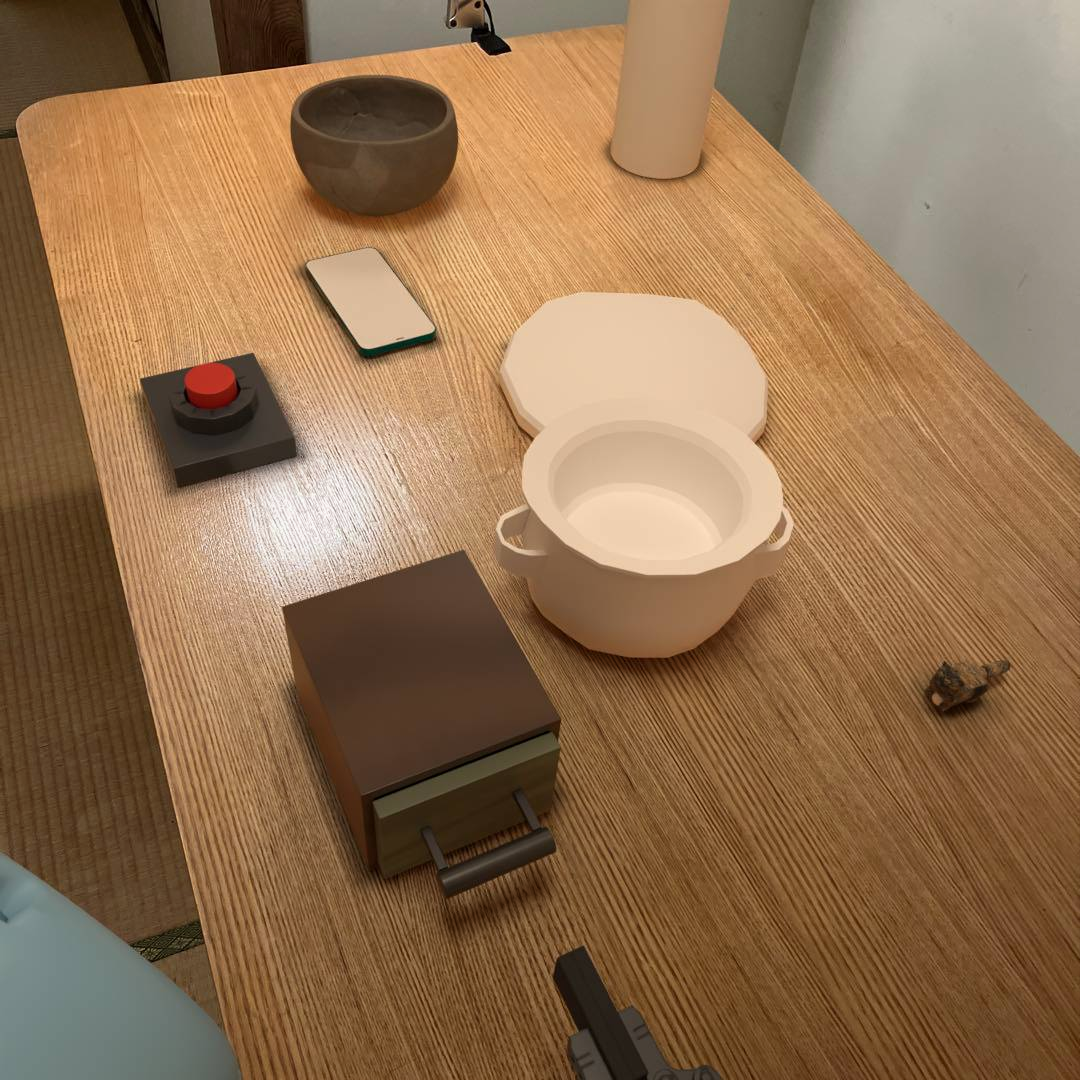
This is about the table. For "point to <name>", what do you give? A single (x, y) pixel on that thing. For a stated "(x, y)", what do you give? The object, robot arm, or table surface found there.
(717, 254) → the table surface
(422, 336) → the smartphone
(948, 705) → the cat figurine
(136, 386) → the table surface
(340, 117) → the bowl
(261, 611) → the table surface
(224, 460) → the button block
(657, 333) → the decorative plate
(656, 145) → the tall pillar cylinder
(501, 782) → the drawer
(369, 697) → the cabinet
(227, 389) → the button
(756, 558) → the pot
